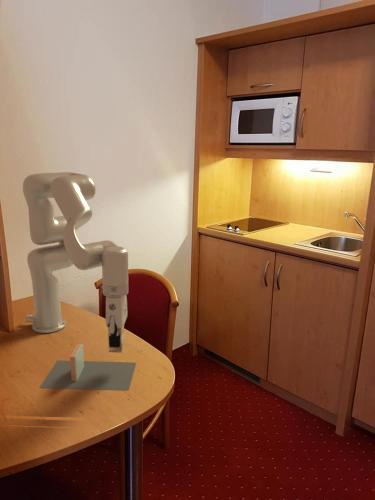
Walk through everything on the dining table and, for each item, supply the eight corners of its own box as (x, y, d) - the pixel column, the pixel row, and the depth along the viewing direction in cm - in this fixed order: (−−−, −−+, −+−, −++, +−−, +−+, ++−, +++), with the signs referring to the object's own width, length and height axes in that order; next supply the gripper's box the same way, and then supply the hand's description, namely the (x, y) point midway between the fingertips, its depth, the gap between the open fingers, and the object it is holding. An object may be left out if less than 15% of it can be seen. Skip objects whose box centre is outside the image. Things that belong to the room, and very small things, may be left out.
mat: (39, 389, 116) (39, 387, 116) (57, 362, 130) (57, 360, 130) (128, 392, 115) (128, 390, 115) (136, 364, 130) (136, 362, 130)
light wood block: (108, 352, 123) (108, 319, 120) (111, 345, 127) (110, 313, 123) (121, 352, 123) (121, 320, 120) (124, 346, 126) (123, 314, 123)
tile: (71, 380, 119) (69, 356, 117) (79, 366, 127) (77, 343, 125) (76, 380, 119) (75, 356, 117) (84, 366, 127) (82, 343, 125)
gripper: (122, 299, 111) (123, 358, 116) (132, 278, 127) (132, 330, 132) (96, 298, 111) (97, 356, 116) (109, 277, 127) (110, 329, 132)
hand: (116, 342), depth 124 cm, fingers closed on light wood block, 4 cm apart
